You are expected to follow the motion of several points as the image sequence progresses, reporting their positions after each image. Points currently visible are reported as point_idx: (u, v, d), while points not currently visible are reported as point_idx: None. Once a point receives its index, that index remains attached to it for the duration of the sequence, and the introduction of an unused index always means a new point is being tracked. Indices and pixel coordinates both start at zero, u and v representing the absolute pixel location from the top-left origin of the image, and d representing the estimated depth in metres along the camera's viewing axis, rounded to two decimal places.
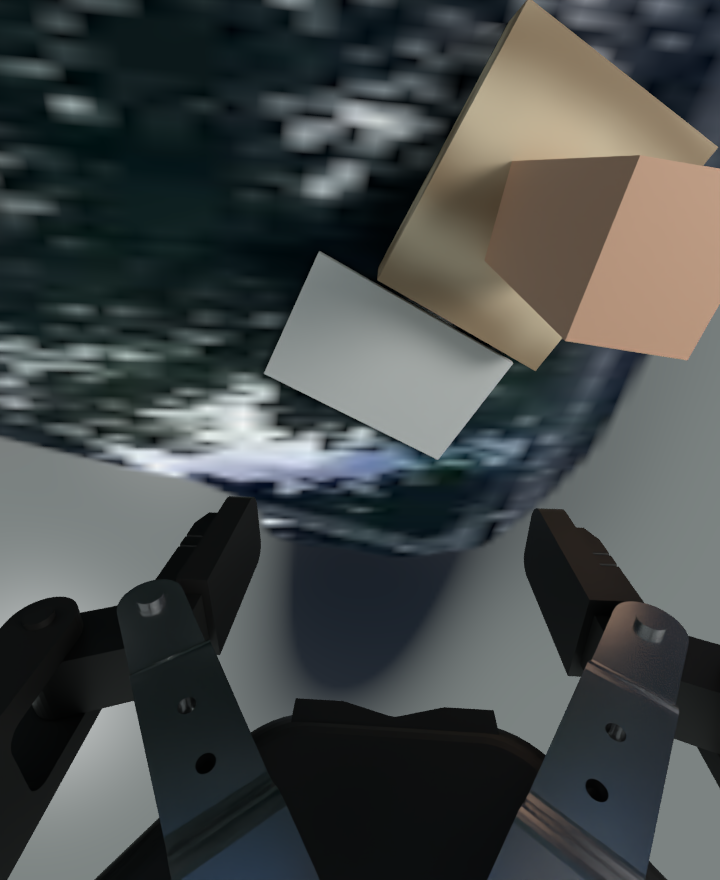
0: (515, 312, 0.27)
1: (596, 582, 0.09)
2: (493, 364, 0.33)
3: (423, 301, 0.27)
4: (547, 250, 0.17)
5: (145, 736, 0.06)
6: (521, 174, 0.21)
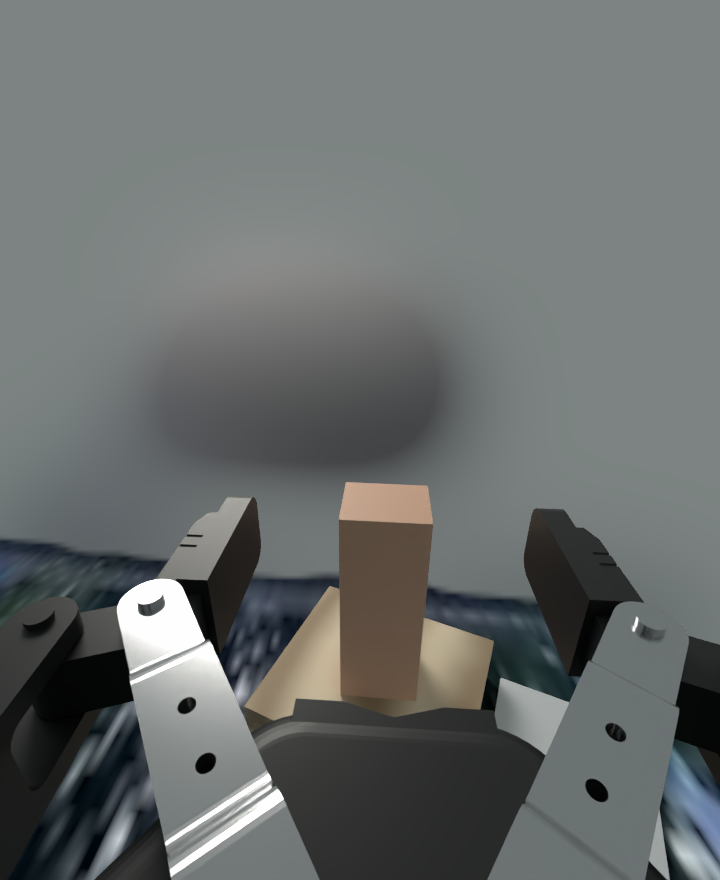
0: (451, 667, 0.31)
1: (596, 582, 0.09)
2: (509, 695, 0.33)
3: None
4: (390, 585, 0.25)
5: (145, 736, 0.06)
6: (349, 667, 0.28)
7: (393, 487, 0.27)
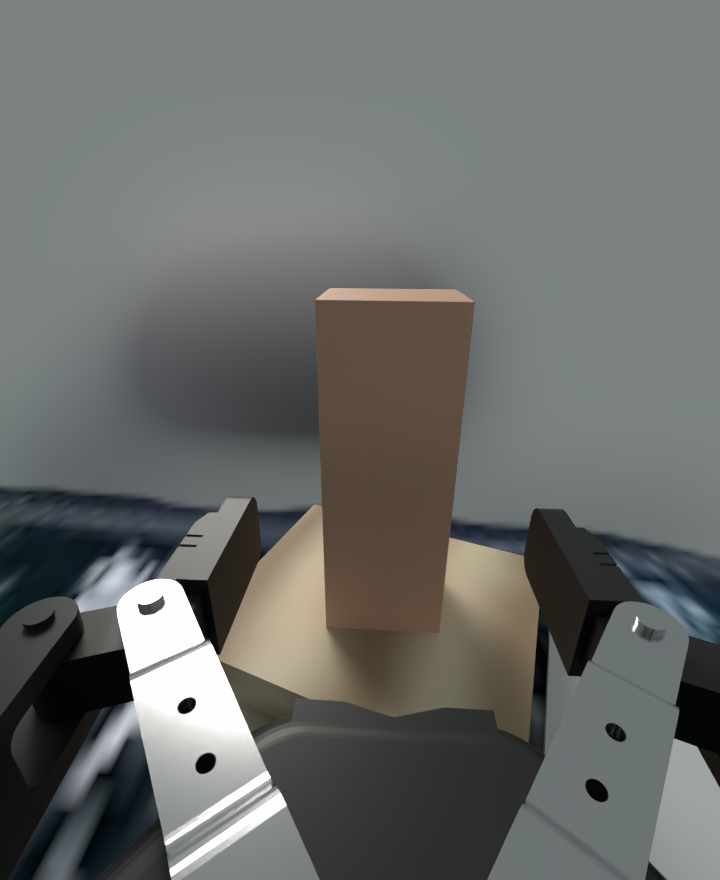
0: (486, 591, 0.22)
1: (596, 582, 0.09)
2: None
3: (524, 701, 0.17)
4: (402, 428, 0.16)
5: (145, 736, 0.06)
6: (338, 579, 0.19)
7: (403, 290, 0.17)
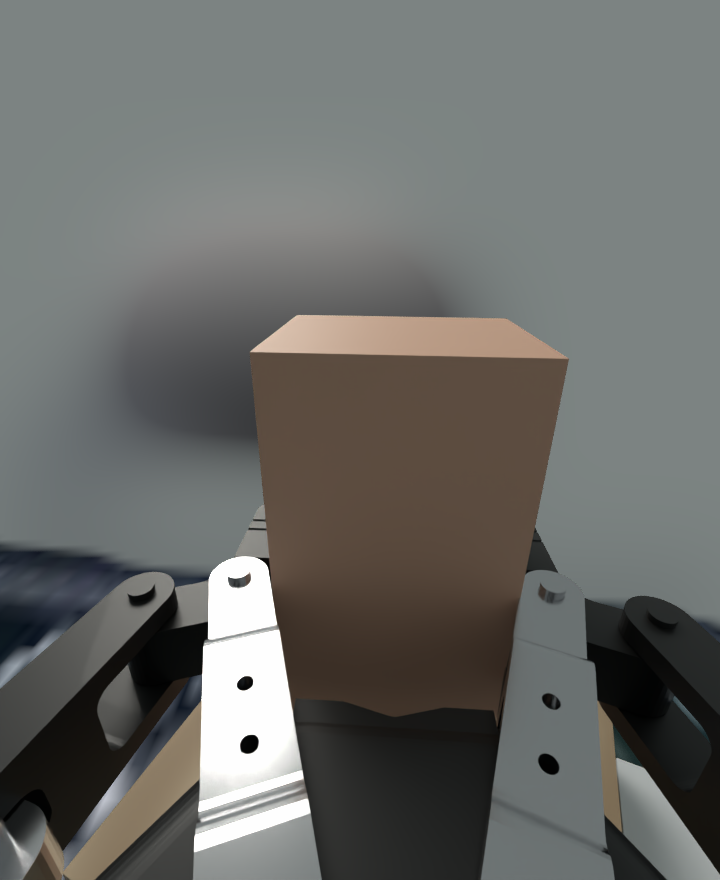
0: None
1: None
2: (642, 798, 0.17)
3: None
4: (419, 574, 0.09)
5: (204, 702, 0.06)
6: None
7: (418, 319, 0.10)
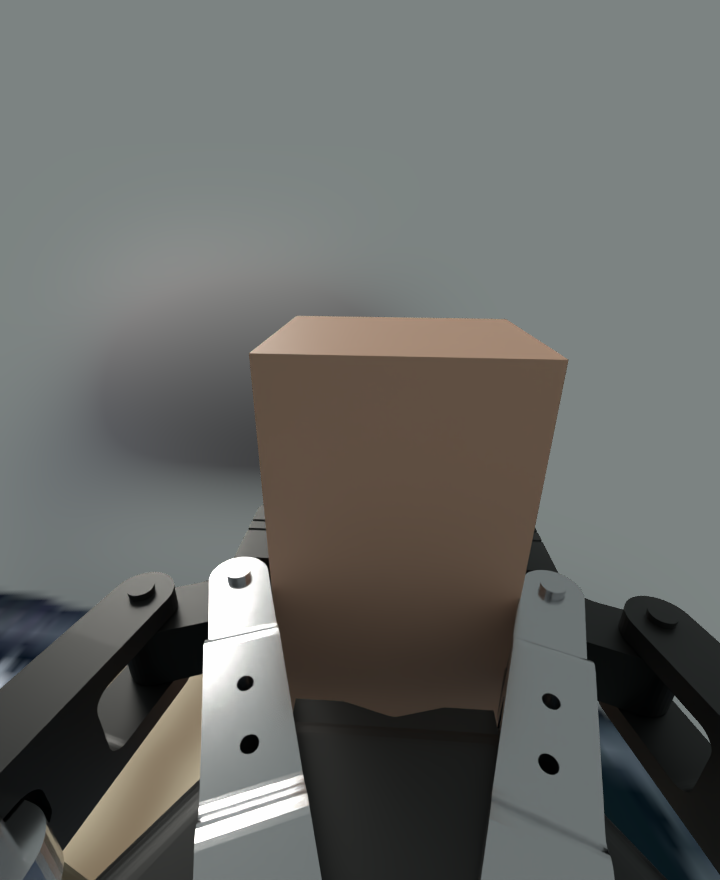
0: None
1: None
2: None
3: None
4: (418, 575, 0.09)
5: (205, 702, 0.06)
6: None
7: (418, 320, 0.10)
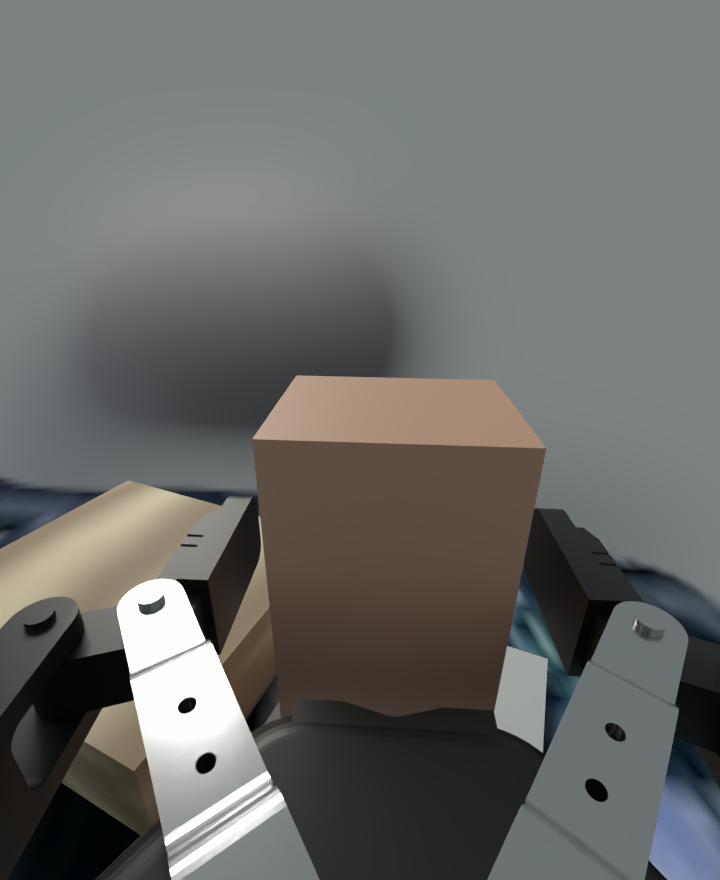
0: None
1: (595, 582, 0.09)
2: None
3: None
4: (409, 631, 0.09)
5: (145, 736, 0.06)
6: None
7: (411, 382, 0.11)
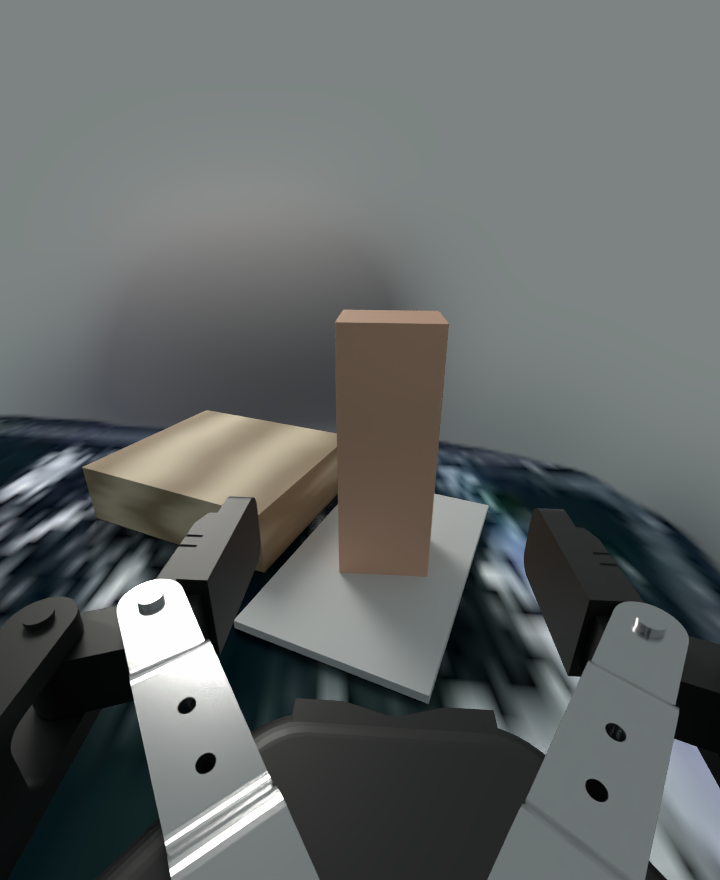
0: (298, 448, 0.32)
1: (596, 582, 0.09)
2: None
3: (285, 487, 0.27)
4: (397, 415, 0.21)
5: (145, 736, 0.06)
6: (349, 533, 0.24)
7: (399, 311, 0.23)
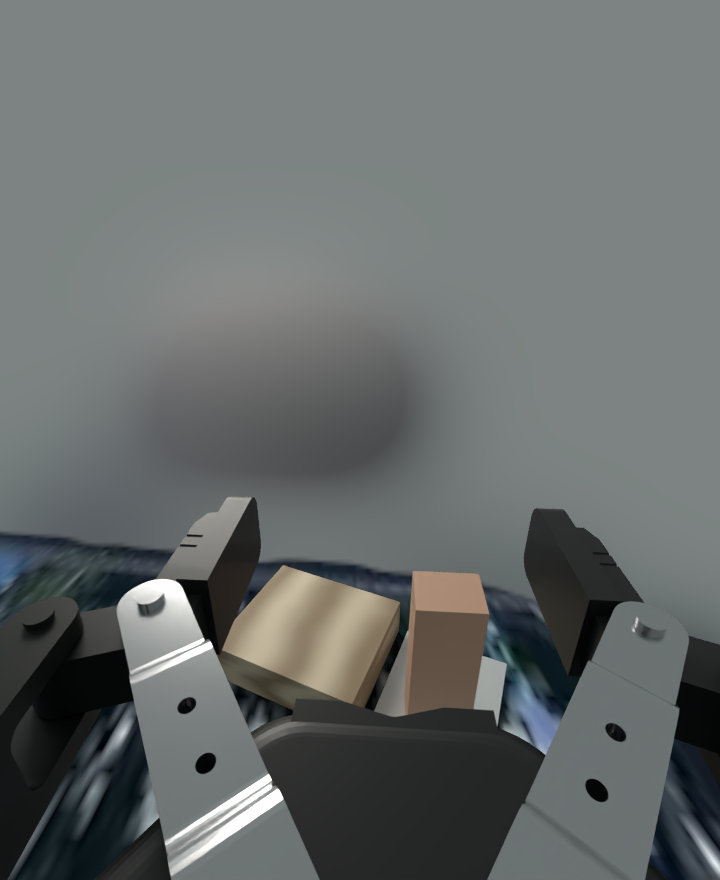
0: (364, 619, 0.43)
1: (596, 582, 0.09)
2: None
3: (364, 671, 0.38)
4: (453, 657, 0.32)
5: (145, 736, 0.06)
6: None
7: (451, 576, 0.34)
